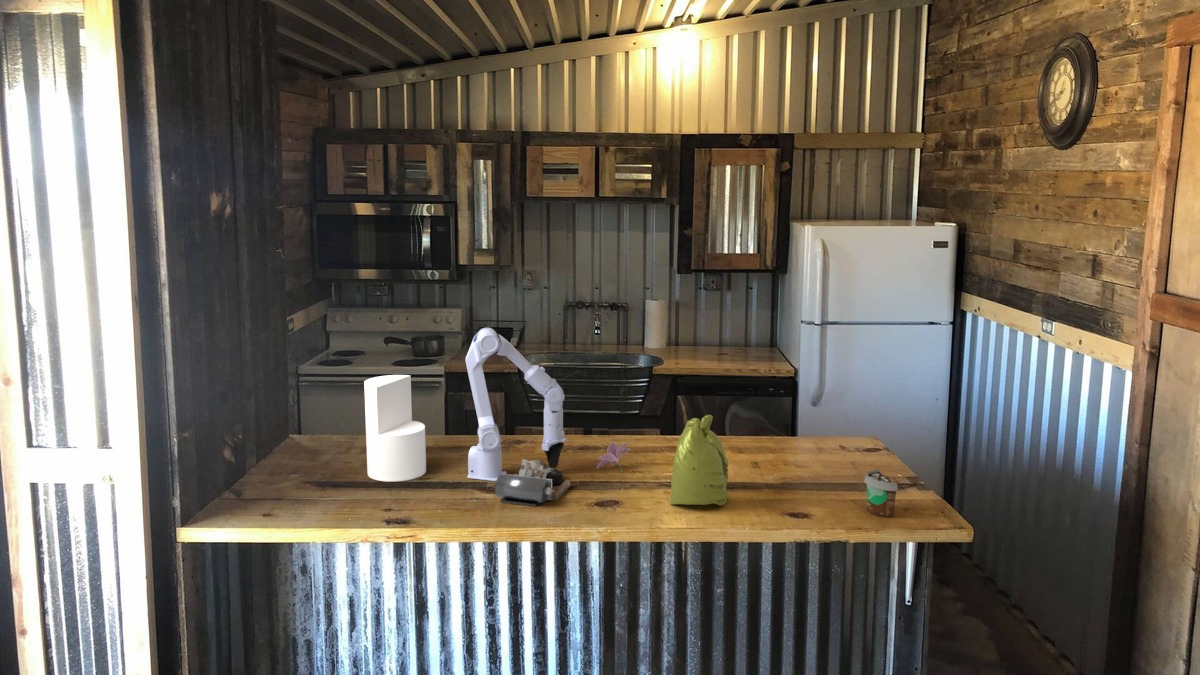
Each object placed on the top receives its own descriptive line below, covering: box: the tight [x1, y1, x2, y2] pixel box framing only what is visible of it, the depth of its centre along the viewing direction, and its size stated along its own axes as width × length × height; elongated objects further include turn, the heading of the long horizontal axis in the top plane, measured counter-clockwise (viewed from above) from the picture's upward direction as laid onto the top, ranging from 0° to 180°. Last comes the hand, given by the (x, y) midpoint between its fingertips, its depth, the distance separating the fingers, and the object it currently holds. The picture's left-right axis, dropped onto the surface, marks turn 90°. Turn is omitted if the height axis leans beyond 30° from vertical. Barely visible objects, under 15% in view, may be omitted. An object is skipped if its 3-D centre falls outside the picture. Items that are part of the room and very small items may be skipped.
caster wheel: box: [518, 458, 564, 485], centre depth 266 cm, size 7×11×10 cm
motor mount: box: [494, 473, 571, 507], centre depth 255 cm, size 17×19×7 cm
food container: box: [863, 468, 898, 519], centre depth 244 cm, size 12×6×10 cm, turn 5°
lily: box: [596, 441, 631, 474], centre depth 277 cm, size 12×12×10 cm
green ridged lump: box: [669, 414, 729, 506], centre depth 253 cm, size 25×16×24 cm, turn 170°
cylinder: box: [363, 374, 427, 482], centre depth 272 cm, size 17×17×28 cm
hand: (553, 467), depth 274 cm, fingers closed
